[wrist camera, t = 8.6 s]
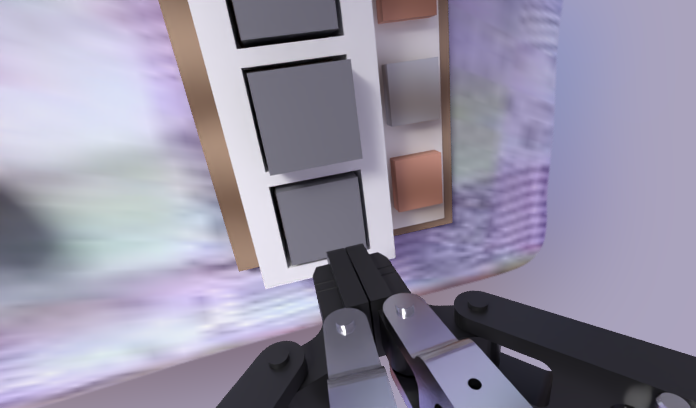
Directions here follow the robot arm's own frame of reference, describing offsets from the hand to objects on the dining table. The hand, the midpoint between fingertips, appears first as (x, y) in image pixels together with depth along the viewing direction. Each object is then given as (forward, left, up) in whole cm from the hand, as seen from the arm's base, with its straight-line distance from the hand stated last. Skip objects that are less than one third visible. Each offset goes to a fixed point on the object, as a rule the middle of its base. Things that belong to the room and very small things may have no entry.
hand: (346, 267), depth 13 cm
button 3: (0, 0, -9) cm, 9 cm away
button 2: (-6, 0, -8) cm, 9 cm away
